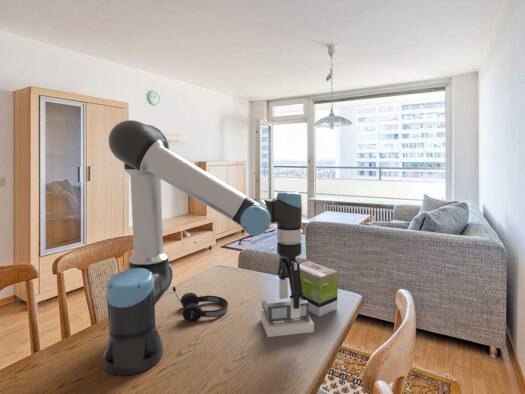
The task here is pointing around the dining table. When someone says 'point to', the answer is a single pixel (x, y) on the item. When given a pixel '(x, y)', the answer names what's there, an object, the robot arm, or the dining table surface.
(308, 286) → the tea box
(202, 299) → the headset
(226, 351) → the dining table surface
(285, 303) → the glasses
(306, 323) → the stand
